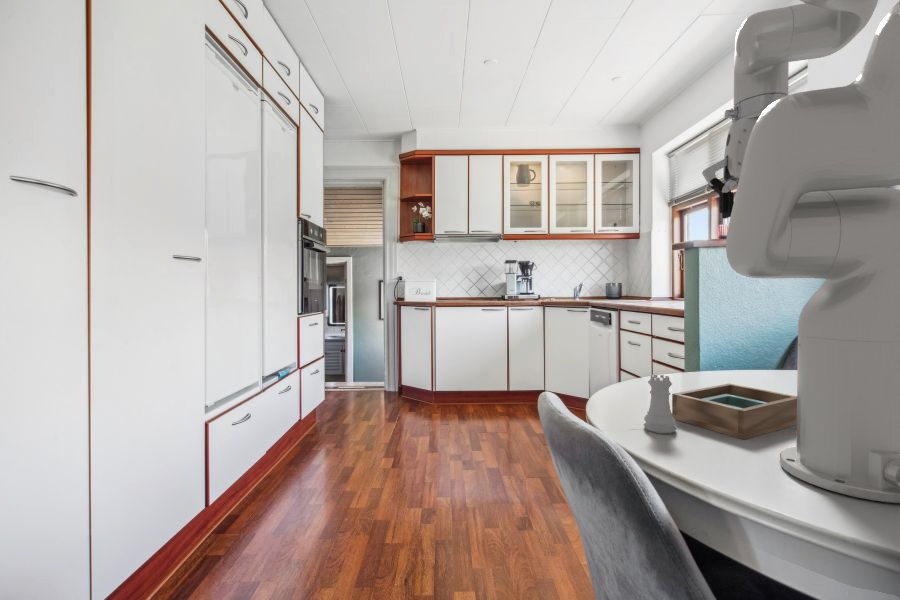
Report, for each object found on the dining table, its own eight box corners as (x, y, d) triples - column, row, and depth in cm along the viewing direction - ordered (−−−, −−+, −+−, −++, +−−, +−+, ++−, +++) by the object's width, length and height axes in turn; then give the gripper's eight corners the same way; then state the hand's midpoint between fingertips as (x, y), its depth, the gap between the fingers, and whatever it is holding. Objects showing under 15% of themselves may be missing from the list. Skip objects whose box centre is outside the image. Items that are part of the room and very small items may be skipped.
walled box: (801, 423, 67) (802, 397, 67) (743, 439, 61) (744, 411, 60) (729, 405, 77) (729, 383, 77) (672, 418, 70) (672, 393, 70)
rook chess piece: (669, 425, 67) (669, 373, 67) (681, 435, 63) (682, 379, 63) (639, 424, 68) (639, 373, 67) (649, 434, 63) (649, 379, 63)
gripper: (711, 110, 72) (711, 214, 73) (834, 99, 68) (832, 209, 69) (696, 126, 79) (696, 221, 80) (806, 117, 76) (805, 217, 76)
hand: (759, 215), depth 74 cm, fingers open, 9 cm apart
